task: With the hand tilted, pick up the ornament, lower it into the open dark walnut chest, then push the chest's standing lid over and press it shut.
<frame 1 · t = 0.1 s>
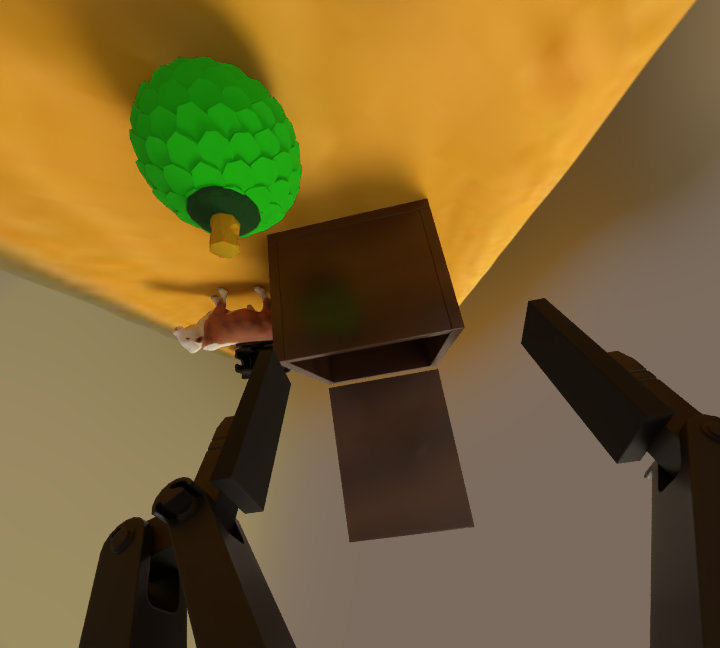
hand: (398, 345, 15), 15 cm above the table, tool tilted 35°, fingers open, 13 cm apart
chest lid: (395, 451, 38), point 23 cm above the table, hinge at 95.0°
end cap: (263, 343, 61), on the table
bull figurine: (235, 290, 38), on the table
ornament: (226, 105, 17), on the table
chest: (359, 265, 36), on the table
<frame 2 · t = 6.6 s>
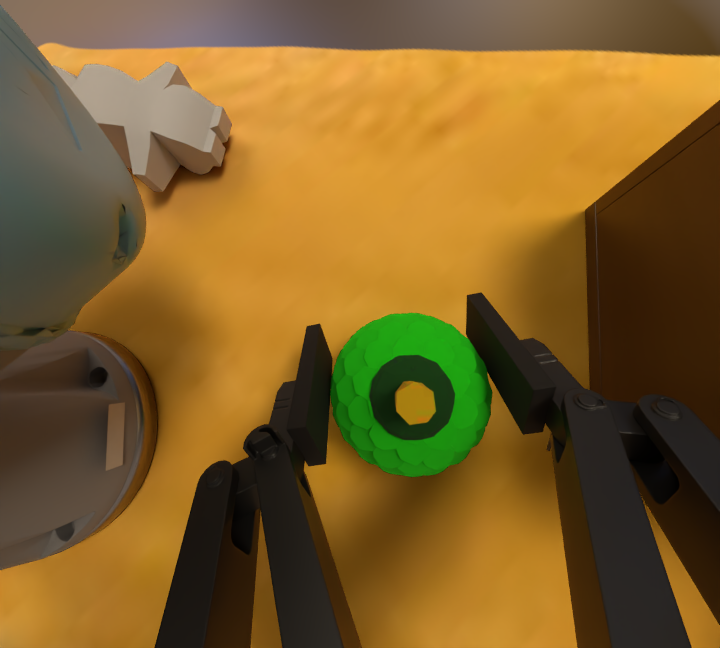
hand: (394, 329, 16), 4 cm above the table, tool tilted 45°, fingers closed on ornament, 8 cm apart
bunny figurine: (158, 149, 25), on the table
ornament: (404, 384, 19), on the table, touching gripper
when the fingers open (10 cm above the table, at t = 15.8 s): ornament drops 4 cm, resting on chest.
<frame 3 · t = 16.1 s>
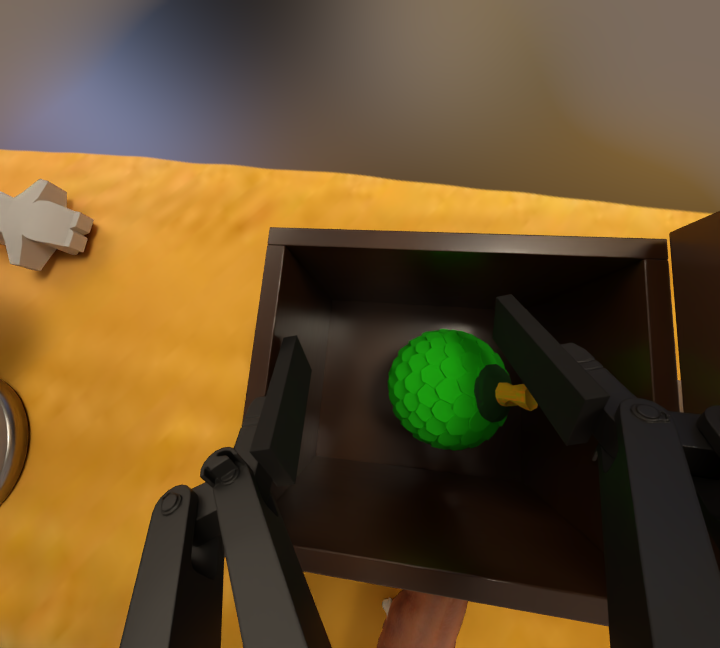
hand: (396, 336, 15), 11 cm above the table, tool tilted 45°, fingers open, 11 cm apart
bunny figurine: (45, 233, 33), on the table
bull figurine: (405, 590, 23), on the table
ornament: (406, 381, 23), point 2 cm above the table, touching chest
chest: (417, 382, 25), on the table
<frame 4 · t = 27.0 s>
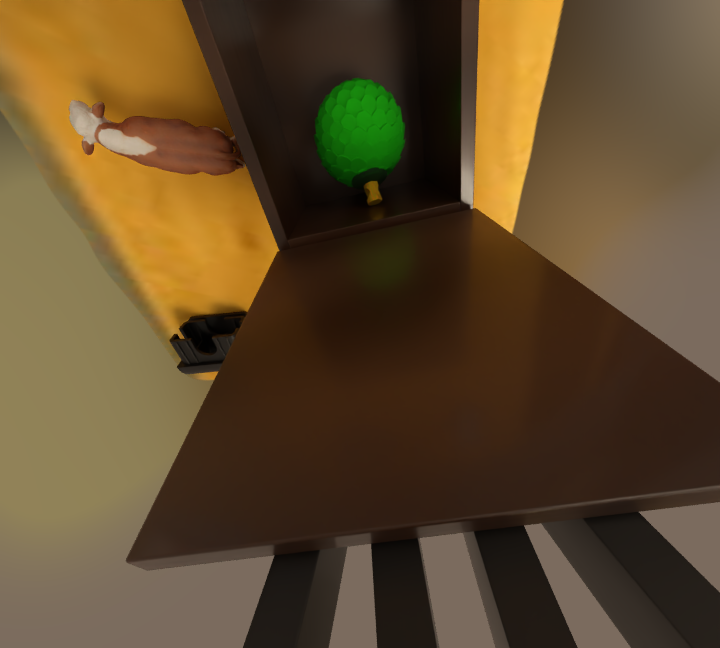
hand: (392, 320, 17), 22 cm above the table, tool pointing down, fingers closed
chest lid: (390, 302, 14), point 23 cm above the table, hinge at 91.6°, touching gripper
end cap: (227, 331, 44), on the table
bull figurine: (191, 141, 30), on the table
ornament: (348, 89, 25), point 3 cm above the table, touching chest
chest: (347, 100, 28), on the table
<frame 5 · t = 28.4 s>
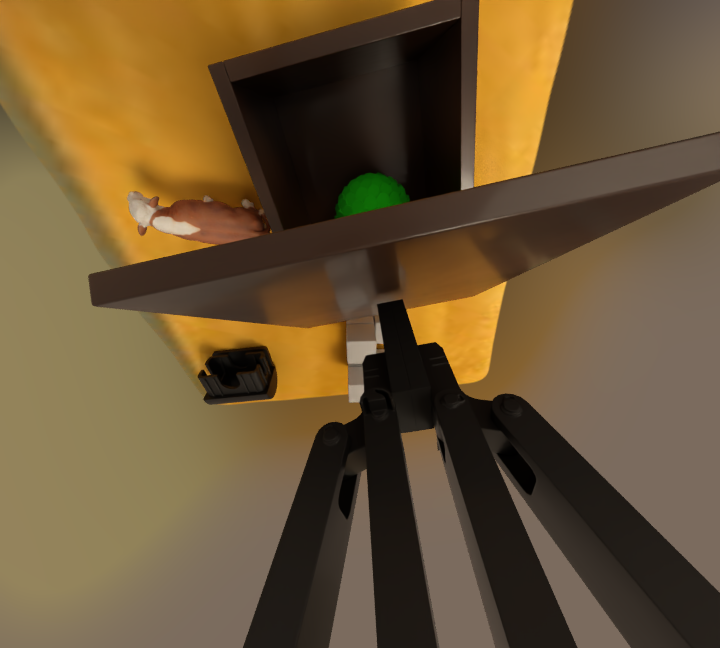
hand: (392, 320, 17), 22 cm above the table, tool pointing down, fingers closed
chest lid: (387, 291, 17), point 21 cm above the table, hinge at 51.4°, touching gripper
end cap: (247, 363, 48), on the table
puzzle cube: (384, 338, 46), on the table
bull figurine: (223, 209, 34), on the table
ornament: (363, 175, 29), point 3 cm above the table, touching chest
chest: (361, 176, 32), on the table
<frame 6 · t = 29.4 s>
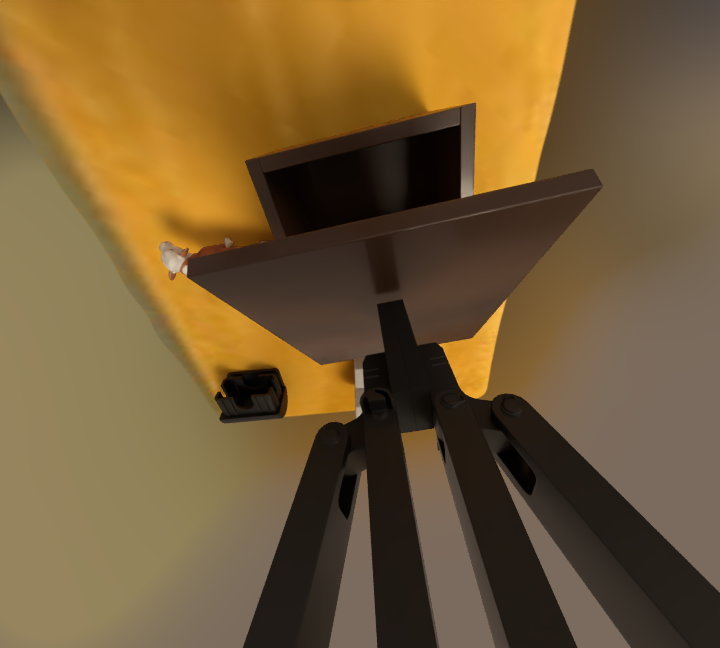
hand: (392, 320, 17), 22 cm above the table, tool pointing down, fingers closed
chest lid: (390, 315, 20), point 19 cm above the table, hinge at 35.2°, touching gripper
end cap: (258, 383, 51), on the table
puzzle cube: (388, 360, 49), on the table
bull figurine: (241, 249, 36), on the table
chest: (369, 221, 35), on the table
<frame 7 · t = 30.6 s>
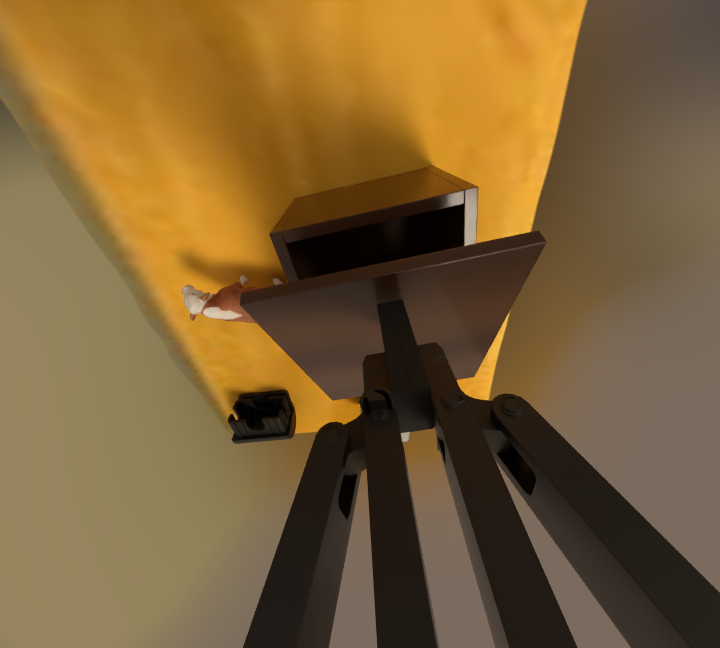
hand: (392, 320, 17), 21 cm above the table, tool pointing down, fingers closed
chest lid: (395, 348, 23), point 17 cm above the table, hinge at 23.6°
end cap: (268, 403, 53), on the table
bull figurine: (255, 284, 39), on the table
chest: (376, 260, 37), on the table
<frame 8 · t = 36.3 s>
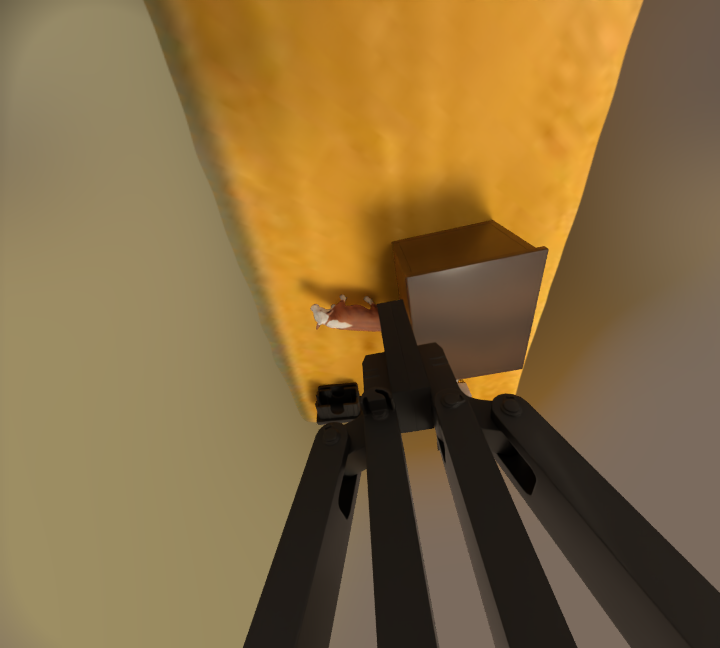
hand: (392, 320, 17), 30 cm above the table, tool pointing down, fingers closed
chest lid: (471, 327, 38), point 14 cm above the table, hinge at 1.8°
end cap: (339, 393, 66), on the table
bull figurine: (350, 301, 51), on the table
chest: (443, 283, 50), on the table
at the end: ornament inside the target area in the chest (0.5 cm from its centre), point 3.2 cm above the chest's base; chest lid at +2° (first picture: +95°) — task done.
